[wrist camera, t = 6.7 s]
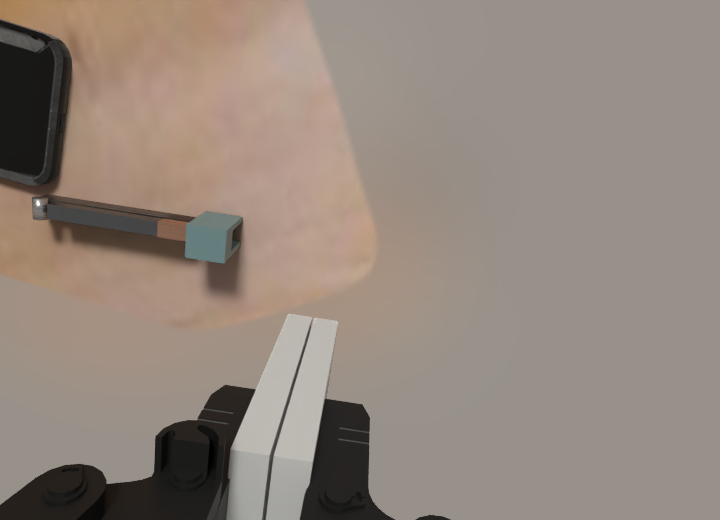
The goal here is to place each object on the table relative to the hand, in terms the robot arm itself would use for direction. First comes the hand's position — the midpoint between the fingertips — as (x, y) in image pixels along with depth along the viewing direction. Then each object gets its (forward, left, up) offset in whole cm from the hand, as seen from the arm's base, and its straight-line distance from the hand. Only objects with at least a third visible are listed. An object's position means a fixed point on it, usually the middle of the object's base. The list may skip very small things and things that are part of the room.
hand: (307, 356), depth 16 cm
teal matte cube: (-3, -6, -13) cm, 14 cm away
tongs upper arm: (-5, -11, -12) cm, 16 cm away
